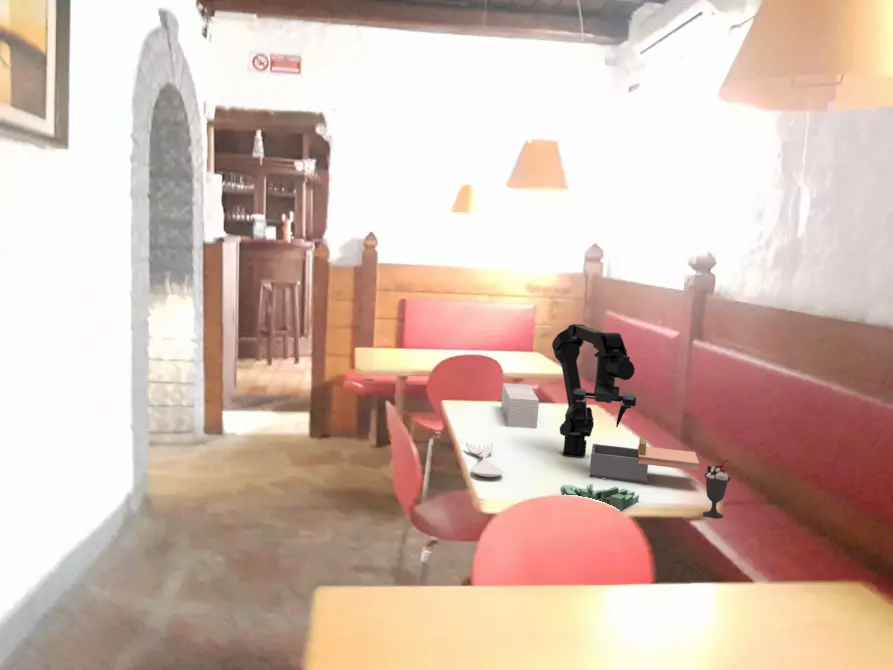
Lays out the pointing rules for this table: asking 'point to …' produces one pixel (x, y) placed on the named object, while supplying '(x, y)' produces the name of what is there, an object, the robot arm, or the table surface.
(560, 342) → the robot arm
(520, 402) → the stack of papers
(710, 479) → the sundae
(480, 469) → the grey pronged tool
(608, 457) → the base
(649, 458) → the lid
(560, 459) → the table surface
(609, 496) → the money
